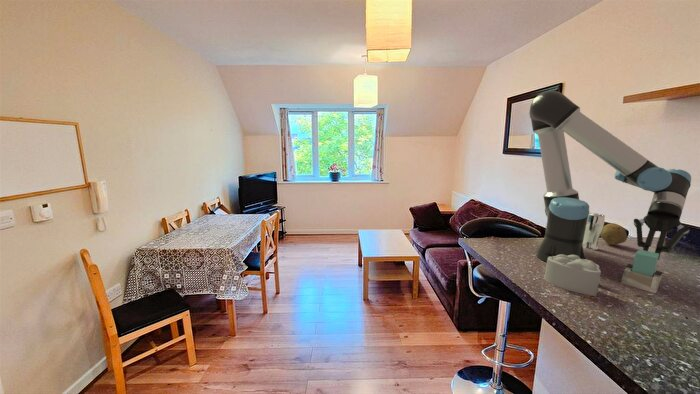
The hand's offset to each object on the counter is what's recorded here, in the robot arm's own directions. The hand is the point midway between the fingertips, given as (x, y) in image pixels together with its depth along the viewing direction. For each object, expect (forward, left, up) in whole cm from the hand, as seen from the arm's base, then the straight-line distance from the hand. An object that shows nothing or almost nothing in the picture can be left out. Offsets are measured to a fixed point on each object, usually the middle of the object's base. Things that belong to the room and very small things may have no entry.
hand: (647, 266), depth 90 cm
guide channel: (-1, -1, -6) cm, 6 cm away
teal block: (-3, -4, -5) cm, 7 cm away
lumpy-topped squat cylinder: (-23, -9, -6) cm, 26 cm away
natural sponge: (+12, +43, -6) cm, 45 cm away
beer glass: (0, +34, -6) cm, 35 cm away
